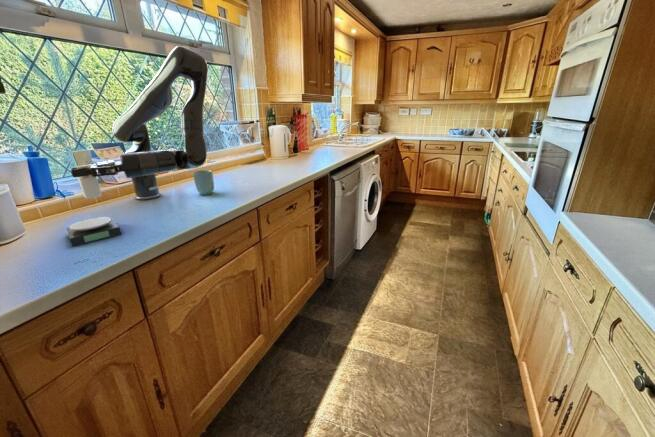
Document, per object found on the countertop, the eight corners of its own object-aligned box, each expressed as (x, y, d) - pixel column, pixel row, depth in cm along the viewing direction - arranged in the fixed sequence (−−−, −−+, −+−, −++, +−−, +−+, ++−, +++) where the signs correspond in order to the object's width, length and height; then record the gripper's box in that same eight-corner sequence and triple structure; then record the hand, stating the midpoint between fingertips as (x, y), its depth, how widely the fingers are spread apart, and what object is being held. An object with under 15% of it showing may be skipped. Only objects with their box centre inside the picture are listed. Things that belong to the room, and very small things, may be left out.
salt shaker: (86, 199, 88) (76, 167, 85) (83, 197, 91) (73, 166, 88) (102, 196, 91) (93, 165, 88) (99, 194, 94) (89, 164, 90)
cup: (209, 196, 132) (205, 173, 128) (193, 195, 133) (189, 173, 130) (218, 191, 139) (215, 169, 135) (203, 191, 140) (199, 169, 137)
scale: (68, 235, 94) (64, 223, 93) (113, 224, 102) (110, 213, 100) (72, 247, 85) (67, 234, 84) (121, 234, 93) (118, 222, 92)
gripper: (134, 150, 100) (68, 157, 91) (140, 154, 90) (66, 162, 80) (140, 172, 103) (76, 181, 93) (146, 179, 92) (75, 189, 83)
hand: (72, 172), depth 87 cm, fingers closed on salt shaker, 3 cm apart
